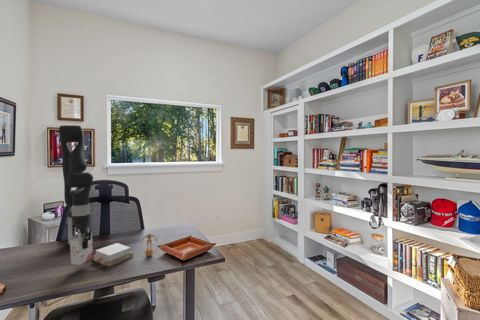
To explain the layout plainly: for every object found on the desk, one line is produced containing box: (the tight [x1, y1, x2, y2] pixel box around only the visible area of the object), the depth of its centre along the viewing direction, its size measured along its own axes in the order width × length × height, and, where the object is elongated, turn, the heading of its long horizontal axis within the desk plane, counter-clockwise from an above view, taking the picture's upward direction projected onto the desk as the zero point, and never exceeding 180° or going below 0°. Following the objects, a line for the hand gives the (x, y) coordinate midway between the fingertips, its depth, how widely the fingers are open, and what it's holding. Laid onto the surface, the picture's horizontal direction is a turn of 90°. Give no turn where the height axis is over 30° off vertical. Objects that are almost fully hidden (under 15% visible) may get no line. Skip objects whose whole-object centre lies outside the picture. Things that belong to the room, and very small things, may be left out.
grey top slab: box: [95, 242, 131, 261], centre depth 133 cm, size 12×12×3 cm
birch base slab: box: [92, 251, 134, 267], centre depth 134 cm, size 14×14×3 cm
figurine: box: [140, 233, 158, 257], centre depth 138 cm, size 8×6×12 cm
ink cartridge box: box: [69, 231, 94, 266], centre depth 122 cm, size 9×5×15 cm, turn 168°
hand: (81, 246), depth 122 cm, fingers closed on ink cartridge box, 6 cm apart
